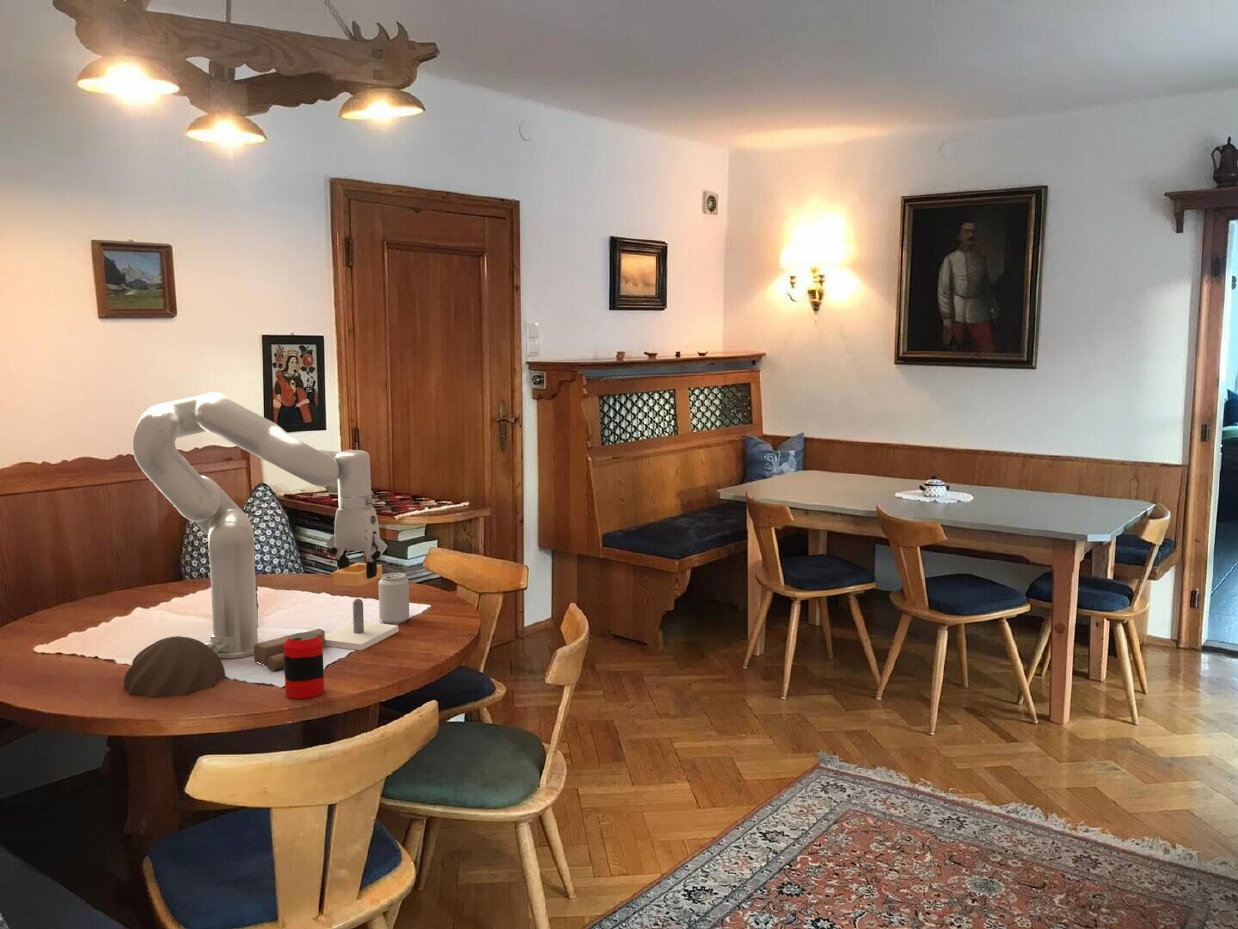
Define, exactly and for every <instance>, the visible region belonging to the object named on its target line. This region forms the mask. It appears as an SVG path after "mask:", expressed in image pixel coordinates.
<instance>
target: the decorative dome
mask: <svg viewBox="0 0 1238 929" xmlns="http://www.w3.org/2000/svg"><path fill="white" fill-rule="evenodd" d="M205 644H206V643H203V642H202V641H200V640H198V639H195V638H192V637H188V636H182V635H181V636H180V635H177V636H170V637H164V638H161V639H159V640H157V641H155V642H154V643H152V644H149V645H148V646H146V647H145V648H144V649H142V650H141V651H140V652H139V653H137V654H136V656H134V659H133V660H132V662H131V666H130V667H129V668H128V670H127V671H126V673H125V675H124V678H123V685H124V686H123V687H125V688H127V689H128V688H129V690H128V693H127V694H128V695H131V696H133V695H134V696H143V697H146V698H149V699H156V698H157V699H158V698H163V697H185V696H187V695H190V694H192V693H195V692H197V691H198V692H199V691H204V690H207V689H208V690H209V689H212V688H214V687H215V685H216V683H218V682H220V681H222V680H224V679H225V678H226V673H225V667H224V665H223V662H222V660H221V658H219V657H218V655H217V654H216V653H215V652H214V651H213V650H212V649H211V648H210V647H208V646H207V645H205Z"/></svg>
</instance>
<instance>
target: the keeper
mask: <svg viewBox="0 0 1238 929" xmlns="http://www.w3.org/2000/svg"><path fill="white" fill-rule="evenodd" d="M352 619H353V620H352V621H353V622H350V623H349V624H346V625H345V626H342V627H340V628H338V629H336V630H334V631H331V632H329V633H327V634H325V645H326V646H325V647H329V646H335V647H334V648H337V647H341V648H340V649H346V648H348V649H347V650H353V651H354V650H355V651H363V650H366V649H368V648H369V647H371V646H373V645H375V644H377V643H379V642H381V641H383V640H385V639H387V638H389V637H391V636H392V635H395V634H396V633H398V632H399V625H398V624H397V625H396V624H387V623H377V622H371V621H370V622H368V621H364V620H365V618H364V601H363V600H362V599H361V598H355V599H353V602H352Z"/></svg>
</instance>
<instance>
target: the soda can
mask: <svg viewBox="0 0 1238 929" xmlns="http://www.w3.org/2000/svg"><path fill="white" fill-rule="evenodd" d="M284 667H285V673H284V688H285V690H284V691H285V692H284V693H285V695H286V696H287V697H288V698H290V699H293V700H307V699H314V698H316V697H319V696H321V695H322V694H323V693H324V692H325V676H324V674H325V672H324V648H323V641H322V640H321V639H320V638H319V636H318V635H317V634H316V633H311V632H308V631H305V632H296V633H292V634H291V635H289V637H288V639H287V640H286V642H285V643H284Z"/></svg>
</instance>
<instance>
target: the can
mask: <svg viewBox="0 0 1238 929" xmlns="http://www.w3.org/2000/svg"><path fill="white" fill-rule="evenodd" d="M406 576H407V575H406V574H405V573H404V572H403V573H402V572H388V573H382V577H381V578H379V580H378V609H379V613H378V614H379V620H381V621H382V622H383V624H388V625H396V624H397V625H398V624H402V623H405V622H406V621H407V620H408V619H409V618H410V591H409V590H410V586H409V582H410V581H409V579H408V578H407V577H406Z"/></svg>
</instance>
